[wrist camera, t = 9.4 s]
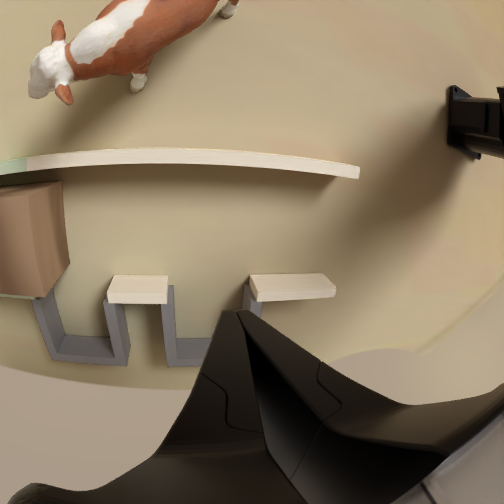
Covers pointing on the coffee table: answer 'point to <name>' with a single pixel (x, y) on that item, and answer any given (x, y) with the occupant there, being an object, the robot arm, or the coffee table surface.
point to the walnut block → (32, 238)
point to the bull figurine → (117, 43)
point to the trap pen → (156, 286)
